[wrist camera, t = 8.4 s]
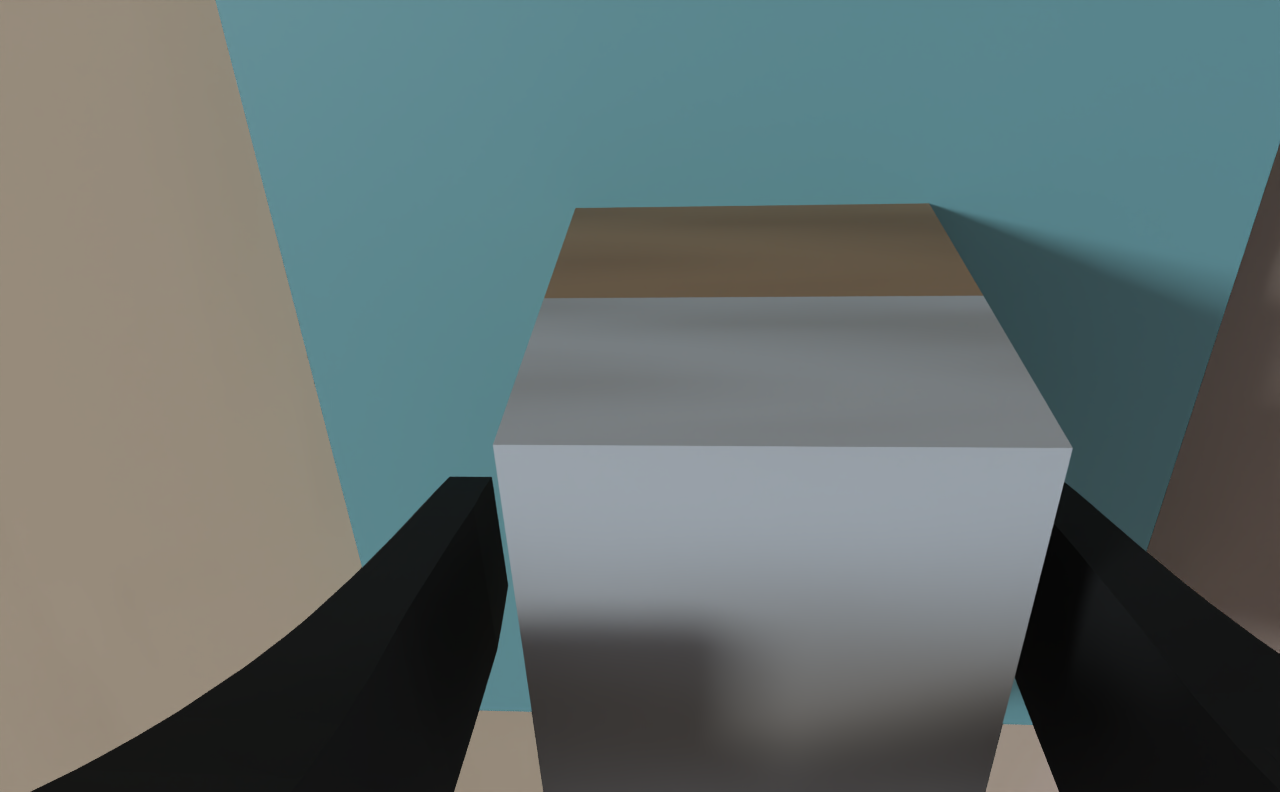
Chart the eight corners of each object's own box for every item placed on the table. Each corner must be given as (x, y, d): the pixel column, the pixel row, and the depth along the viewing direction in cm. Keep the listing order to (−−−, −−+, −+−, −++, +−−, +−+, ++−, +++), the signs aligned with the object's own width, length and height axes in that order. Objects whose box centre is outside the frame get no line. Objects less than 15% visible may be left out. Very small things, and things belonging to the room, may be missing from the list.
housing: (873, 617, 17) (944, 952, 12) (606, 612, 17) (564, 935, 12) (928, 203, 13) (1072, 447, 8) (575, 208, 13) (492, 445, 8)
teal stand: (1259, -72, 13) (1344, -56, 11) (1056, 649, 20) (1089, 726, 18) (273, -37, 14) (210, -19, 12) (423, 636, 21) (398, 707, 19)
